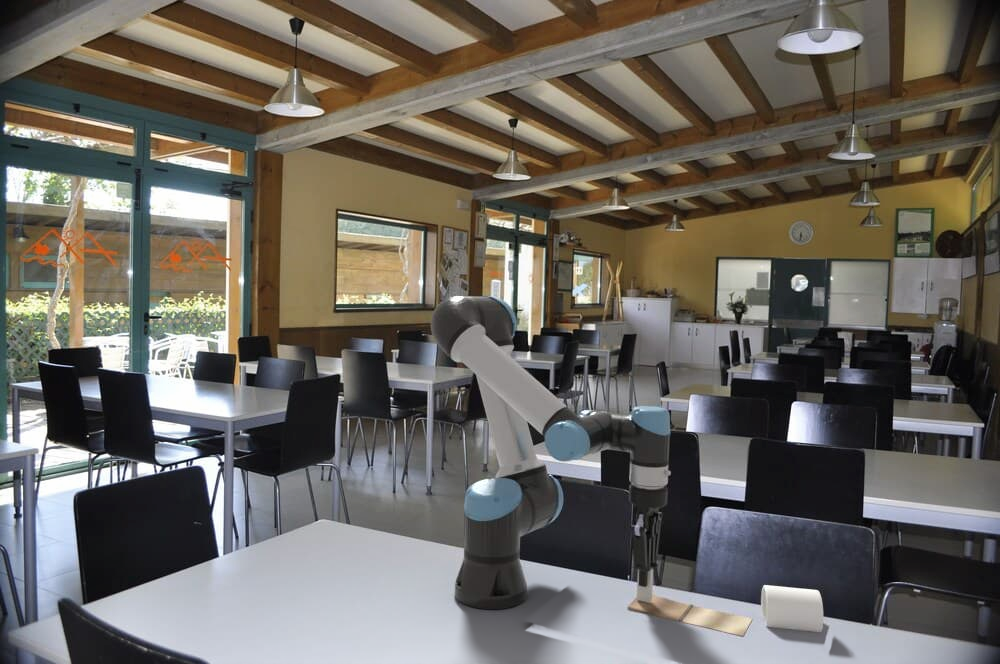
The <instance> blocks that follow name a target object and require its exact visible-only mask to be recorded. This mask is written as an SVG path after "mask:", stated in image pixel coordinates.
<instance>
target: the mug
mask: <svg viewBox="0 0 1000 664" xmlns="http://www.w3.org/2000/svg"><path fill="white" fill-rule="evenodd" d="M823 604H824V603H823V598H822V595H821V593H820V591H819V590H818V589H809V588H798V587H788V586H781V585H780V586H779V585H768V584H763V586H762V589H761V595H760V611H761V613H760V615H761V616H762V617H766V618H765V624H764V626H765V627H767V628H774V629H784V630H785V629H786V630H793V631H803V632H812V633H822V631H823V628H824V606H823Z"/></svg>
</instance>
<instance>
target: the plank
mask: <svg viewBox="0 0 1000 664" xmlns="http://www.w3.org/2000/svg"><path fill="white" fill-rule="evenodd" d="M689 606H690V604H686V603H683V602H679V601H676V600H673V599H668V598H665V597H662V596H658V595H654V594H652V601H651V602H650V603H648V602H644V601H639V600H637V596H636V597H635V598H634V599H633V600H632V601H631V602H630V604H628V606H627V610H629V611H633V612H634V611H635V612H638V613H642V614H647V615H650V616H655V617H659V618H664V619H668V620H671V621H675V622H679V621H678V620H679V618H680V617H681V616H682V615H683V613H684V612H685V611H686V609H687V608H688V607H689Z"/></svg>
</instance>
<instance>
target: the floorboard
mask: <svg viewBox="0 0 1000 664" xmlns="http://www.w3.org/2000/svg"><path fill="white" fill-rule="evenodd" d="M689 605H690V606H689V607H688V608H687V609H686V611H685V612H684V613H683V615H682V616H681V617H680V618H679V620H678V621H677V622H680V623H683V624H689V625H692V626H696V627H701V628H706V629H710V630H713V631H717V632H718V631H719V632H720V633H721V632H723V633H725V634H728V635H729V634H730V635H734V636H738V637H742V638H743V637H744V636H745V634H746V633H747V632H746V631H747V630H748V628H749V626H750V625H751V622H752V621H753V619H752V618H750V617H746V616H742V615H737V614H736V615H735V614H732V613H728V612H722V611H720V610H719V611H718V610H714V609H710V608H705V607H702V606H701V607H700V606H696V605H694V604H689Z"/></svg>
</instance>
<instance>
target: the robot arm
mask: <svg viewBox="0 0 1000 664" xmlns="http://www.w3.org/2000/svg"><path fill="white" fill-rule="evenodd" d="M517 325H518V324H517V318H516V314H515V312H514V310H513V308H512V307H511V306H510V304H508V303H507V302H506V301H504V300H503V299H501V298H498V297H494V296H491V295H490V296H488V295H482V296H470V295H469V296H466V295H465V296H464V295H463V296H462V295H455V296H454V295H453V296H450V297H448V298H445V299H443V300H442V301H441V302H440V303H439V304H437V305H436V307H435V309H434V310H433V313H432V314H431V318H430V330H431V335H432V336H433V339H434V341H435V342H436V344H437V345H438V346H439V348H440V349H441V350H442V351H443V352H444V353H445V354H446V355H447V357H449V358H450V359H451V360H452V361H454V362H456V363H463V364H464V365H465V366H466V367H467V368H468V369H469V370H471V372H473V373H474V374H475V376H476V380H477V384H478V389H479V391H480V395H481V399H482V403H483V407H484V412H485V414H486V415H485V416H486V418H487V422H488V426H489V430H490V434H491V438H492V442H493V446H494V450H495V453H496V458H497V463H498V465H499V468H498V471H497V472H496V474H495V477H492V478H491V479H489V478H486V479H481V480H478V481H476V482H474V483H472V484H471V485H469V487H468V488H467V489H466V492H465V499H464V503H463V512H464V520H463V521H464V524H463V525H464V526H463V527H464V532H463V534H464V535H463V536H464V537H463V559H462V562H461V564H460V568H459V571H458V573H457V577H456V578H455V579H456V580H455V582H454V597H455V598H456V600H457V601H459V602H460V603H461V604H463V605H465V606H468V607H471V608H475V609H480V610H481V609H482V610H501V609H509V608H513V607H515V606H516V607H517V606H518V605H520V604H523V603H524V602H525V601H526V599H527V597H528V583H527V580H526V577H525V573H524V570H523V566H522V564H521V560H520V553H521V549H520V548H521V547H520V546H521V537H523V536H525V535H527V534H529V533H531V532H533V531H536V530H540V529H543V528H545V527H547V526H548V525H550V524H551V523H552V522H554V521H555V520H556V519H557V518H558V516H559V515H560V513H561V511H562V508H563V505H564V492H563V489H562V486H561V484H560V482H559V480H558V479H557V478H555V477H554V476H553V475H552V474H550V473H549V472H548V470H547V469H548V468H547V465H546V463H545V462H544V461H542V460H541V459H539V458H538V457H537V454H536V451H535V447H534V444H533V439H532V435H531V432H530V428H529V425H530V426H532V427H533V428H534V429H535V430H536V431H537V432H539V434H541V435H542V437H544V445H545V447H546V450H547V453H548V454H549V455H550V456H551V457H552V458H553V459H554V460H556V461H558V462H565V463H566V462H570V461H571V462H572V461H578V460H581V459H582V458H584V457H586V456H589V455H590V456H591V455H593V454H597V453H600V452H602V451H606V450H611V451H612V450H613V451H617V452H618V451H619V452H624V453H625V452H626V453H629V454H630V457H629V458H630V461H629V480H628V481H629V482H630V483H631V484H629V486H628V488H629V489H628V490H629V491H628V496H629V497H628V502H629V504H631V505H633V506H635V507H636V509H637V510H636V513H635V515H634V522H635V524H631V526H630V532H631V536H632V557H633V567H632V568H633V569H634V570H637V582H636V583H637V584H636V585H637V586H636V597H637V600H639V601H644V602H648V603H650V602H651V601H652V595H653V586H654V585H653V583H654V569H658V566H659V564H658V563H655V562H657V561H658V556H659V555H658V553H659V546H660V543H659V542H660V534H661V527H662V526H661V525H662V519H663V518H664V517H663V512H662V511H661V512H660V509H661V508H664V507H666V505H668V491H669V489H668V487H667V484H668V483H669V476H671V474H672V472H671V470H669V456H670V455H669V454H670V439H671V438H670V437H671V424H670V423H671V420H670V419H671V417H670V412H669V410H667V409H666V408H664V407H660V406H654V405H653V406H649V405H648V406H647V405H638V406H635V407H633V408H632V410H631V414H624V413H616V412H609V411H603V410H599V409H595V410H591V409H585V410H582V411H581V412H579V415H578V414H577V413H575V412H574V411H573V410H571V409H570V408H569V407H568V406H567V405H566V404H565V403H563V401H562V400H561V399H559V398H558V397H557V396H556V395H555V394H553V393H552V392H551V391H550V390H549V389H548V388H546V387H545V386H544V385H543V384H542V383H541V382H540V381H539V380H537V379H536V378H535V377H534V376H533V375H532V374H530V372H529V371H527V370H526V369H525V368H523V366H521V365H520V364H519V363H518V362H517V361H516V360H515V359H514V358H512V357H511V353H512V351H513V350H514V348H515V346H514V343H513V338H514V336H515V332H516V331H517V327H518V326H517ZM528 423H529V424H528Z"/></svg>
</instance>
